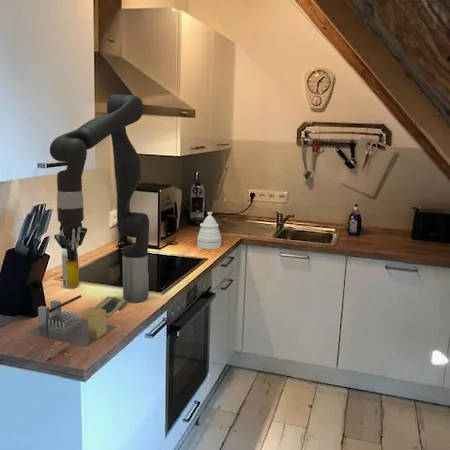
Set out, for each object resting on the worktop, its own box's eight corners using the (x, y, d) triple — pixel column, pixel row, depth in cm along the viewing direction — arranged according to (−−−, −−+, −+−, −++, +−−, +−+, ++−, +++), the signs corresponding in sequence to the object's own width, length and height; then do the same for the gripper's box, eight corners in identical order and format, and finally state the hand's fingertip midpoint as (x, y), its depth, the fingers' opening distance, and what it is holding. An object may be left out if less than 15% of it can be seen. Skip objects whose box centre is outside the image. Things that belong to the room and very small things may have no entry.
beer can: (82, 286, 203) (81, 250, 199) (70, 290, 198) (68, 253, 194) (72, 283, 206) (70, 247, 203) (60, 286, 201) (58, 250, 198)
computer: (109, 322, 170) (109, 313, 169) (87, 319, 171) (86, 310, 171) (127, 305, 185) (127, 297, 184) (106, 303, 186) (106, 295, 186)
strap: (53, 310, 163) (51, 308, 163) (82, 297, 158) (80, 294, 158) (46, 314, 160) (44, 311, 160) (75, 300, 154) (73, 297, 154)
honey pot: (197, 242, 276) (197, 210, 273) (220, 243, 277) (221, 211, 273) (197, 248, 264) (197, 215, 260) (221, 249, 265) (222, 215, 261)
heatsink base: (61, 318, 171) (60, 295, 169) (117, 330, 163) (116, 306, 161) (26, 336, 156) (25, 311, 155) (86, 350, 148) (85, 324, 146)
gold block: (92, 329, 160) (91, 306, 158) (106, 333, 158) (106, 309, 156) (82, 336, 155) (81, 312, 153) (96, 339, 153) (96, 315, 151)
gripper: (74, 201, 158) (76, 254, 162) (44, 207, 146) (47, 264, 150) (94, 203, 155) (95, 257, 159) (65, 210, 143) (68, 268, 147)
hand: (72, 260), depth 154 cm, fingers closed
